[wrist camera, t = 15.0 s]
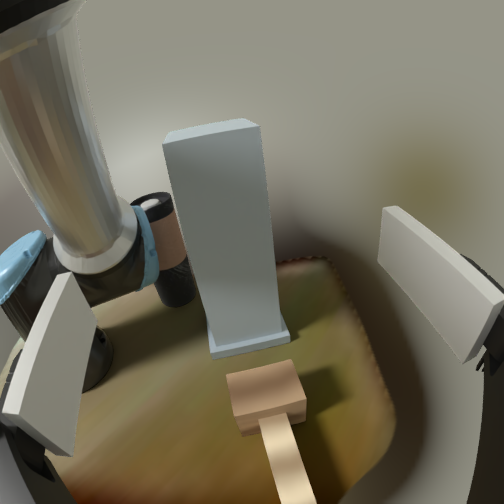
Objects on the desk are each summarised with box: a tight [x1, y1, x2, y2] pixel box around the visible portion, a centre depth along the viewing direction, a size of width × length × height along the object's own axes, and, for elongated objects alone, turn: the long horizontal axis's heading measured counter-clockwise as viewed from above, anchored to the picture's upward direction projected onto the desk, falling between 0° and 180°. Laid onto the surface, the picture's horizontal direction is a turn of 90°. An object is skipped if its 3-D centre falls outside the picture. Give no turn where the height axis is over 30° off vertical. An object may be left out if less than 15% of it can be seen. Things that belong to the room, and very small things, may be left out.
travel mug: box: [130, 192, 196, 307], centre depth 52 cm, size 8×8×20 cm
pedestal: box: [162, 118, 290, 360], centre depth 41 cm, size 12×12×31 cm
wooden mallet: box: [226, 359, 317, 504], centre depth 27 cm, size 20×8×6 cm, turn 12°
